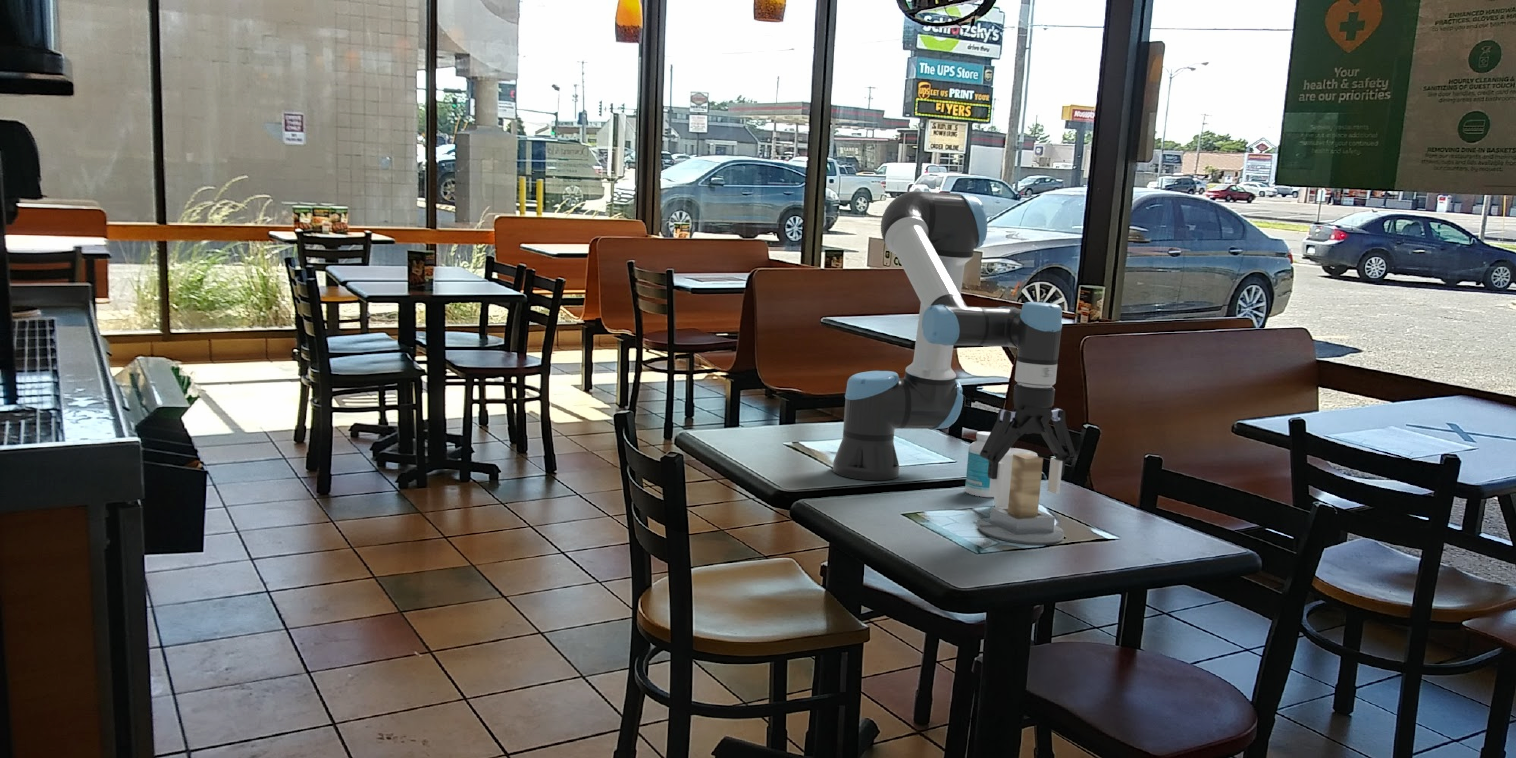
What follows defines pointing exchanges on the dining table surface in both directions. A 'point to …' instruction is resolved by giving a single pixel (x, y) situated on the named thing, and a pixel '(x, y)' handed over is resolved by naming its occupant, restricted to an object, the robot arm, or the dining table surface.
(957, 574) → the dining table surface
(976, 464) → the pill bottle
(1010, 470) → the cup
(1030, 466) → the tan wooden block
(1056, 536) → the square tray on disc
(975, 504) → the dining table surface
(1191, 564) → the dining table surface
